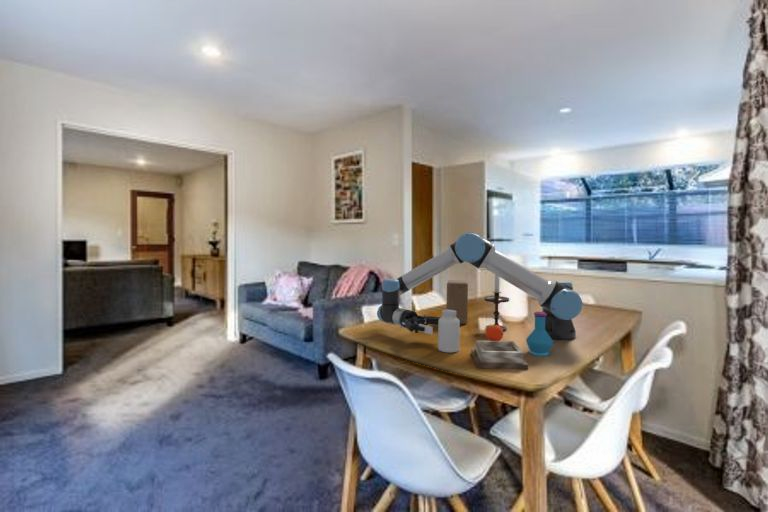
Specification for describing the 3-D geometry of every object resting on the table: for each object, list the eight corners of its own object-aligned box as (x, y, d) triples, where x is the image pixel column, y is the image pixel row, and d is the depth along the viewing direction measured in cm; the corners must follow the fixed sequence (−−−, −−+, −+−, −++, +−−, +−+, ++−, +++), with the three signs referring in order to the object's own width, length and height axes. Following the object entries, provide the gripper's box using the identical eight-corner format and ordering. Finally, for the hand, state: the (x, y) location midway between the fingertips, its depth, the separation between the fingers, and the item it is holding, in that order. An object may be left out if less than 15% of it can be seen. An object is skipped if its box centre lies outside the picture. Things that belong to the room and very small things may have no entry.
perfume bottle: (550, 358, 139) (551, 316, 138) (523, 354, 143) (524, 313, 142) (554, 351, 146) (555, 311, 145) (528, 347, 151) (529, 309, 150)
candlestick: (485, 331, 175) (486, 253, 173) (483, 326, 186) (484, 252, 183) (510, 332, 173) (511, 253, 171) (506, 326, 184) (508, 252, 182)
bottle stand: (515, 353, 144) (515, 340, 143) (528, 369, 128) (528, 354, 127) (471, 352, 145) (471, 339, 145) (478, 367, 129) (478, 352, 129)
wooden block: (467, 324, 189) (467, 283, 188) (446, 323, 191) (446, 282, 190) (467, 319, 199) (467, 280, 197) (447, 319, 201) (447, 280, 199)
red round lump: (479, 341, 160) (480, 324, 160) (488, 337, 165) (488, 321, 165) (498, 345, 155) (498, 327, 154) (506, 341, 160) (506, 324, 159)
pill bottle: (461, 353, 145) (461, 312, 144) (439, 353, 145) (439, 312, 144) (457, 346, 152) (457, 308, 152) (436, 346, 153) (436, 308, 152)
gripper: (426, 322, 174) (464, 332, 157) (383, 332, 157) (421, 343, 141) (426, 305, 173) (465, 313, 157) (383, 313, 157) (421, 323, 141)
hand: (444, 327), depth 149 cm, fingers open, 13 cm apart
